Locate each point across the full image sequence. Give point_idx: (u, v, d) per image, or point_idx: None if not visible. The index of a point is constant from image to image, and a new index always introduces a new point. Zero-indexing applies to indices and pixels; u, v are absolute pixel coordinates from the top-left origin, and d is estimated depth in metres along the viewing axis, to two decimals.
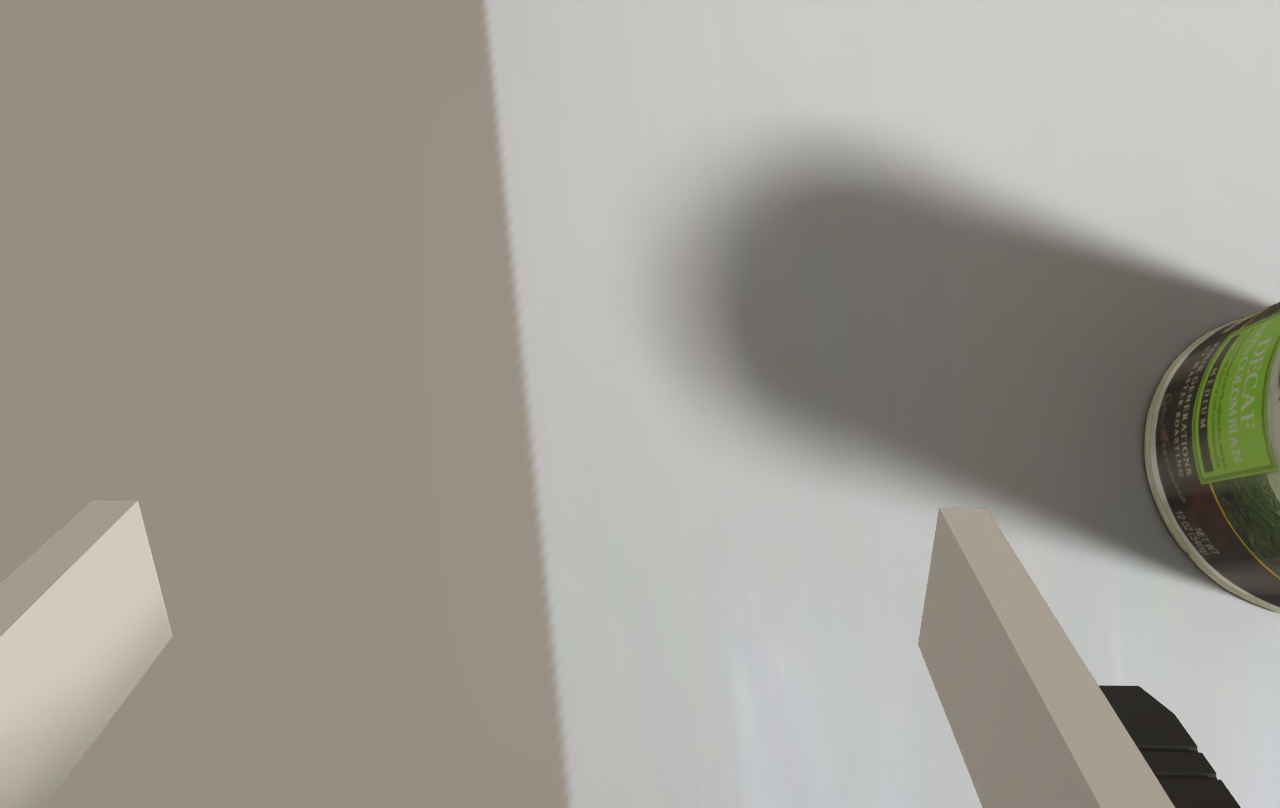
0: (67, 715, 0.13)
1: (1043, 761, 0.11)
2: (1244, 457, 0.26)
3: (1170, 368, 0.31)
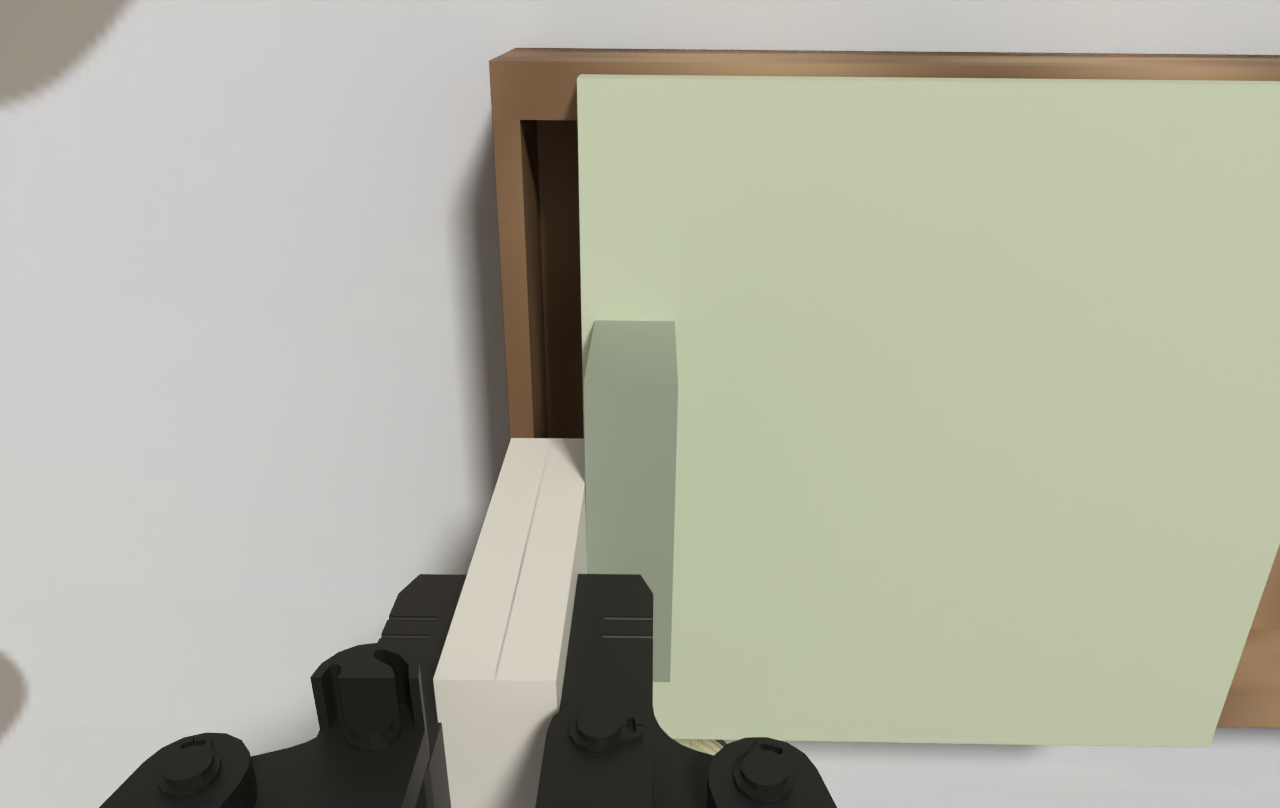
0: None
1: None
2: None
3: None
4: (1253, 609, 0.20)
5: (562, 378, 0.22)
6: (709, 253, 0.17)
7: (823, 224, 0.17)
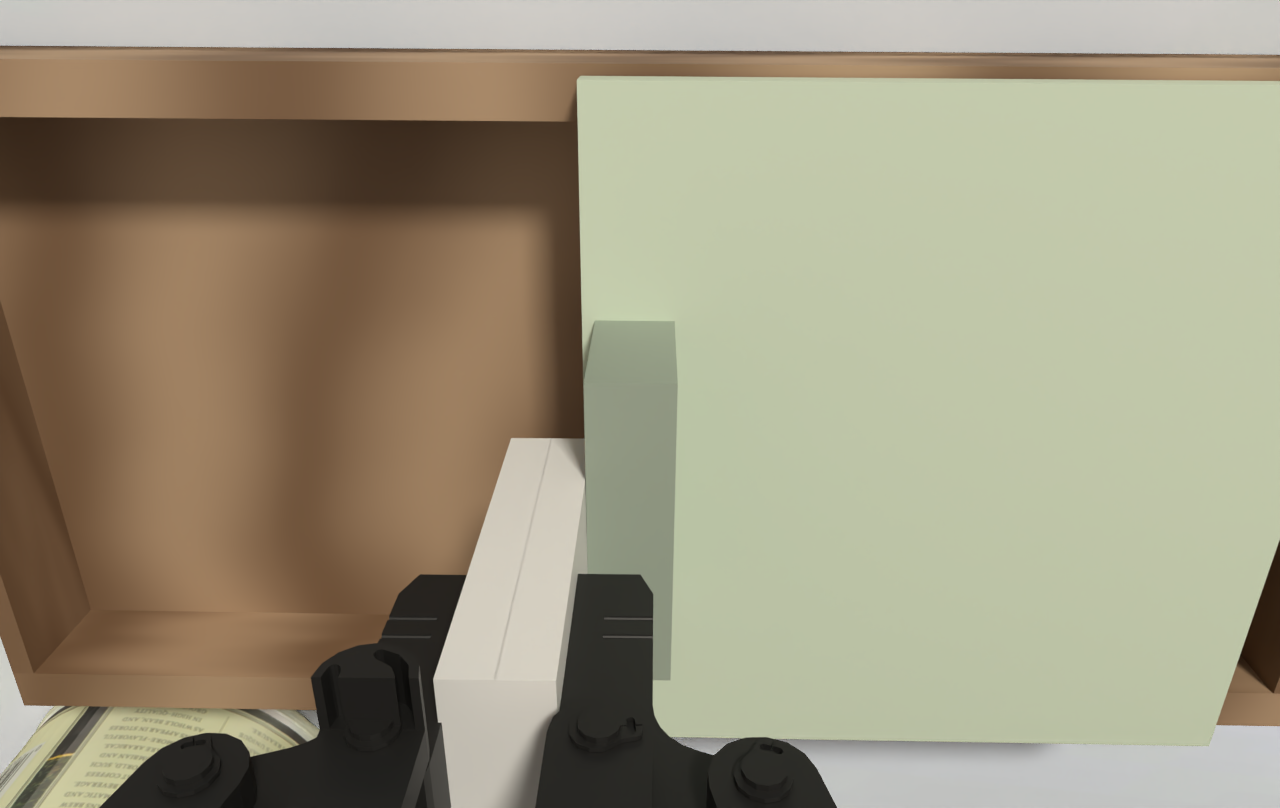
0: None
1: None
2: None
3: None
4: (1252, 608, 0.20)
5: (37, 372, 0.22)
6: (709, 253, 0.17)
7: (822, 224, 0.17)
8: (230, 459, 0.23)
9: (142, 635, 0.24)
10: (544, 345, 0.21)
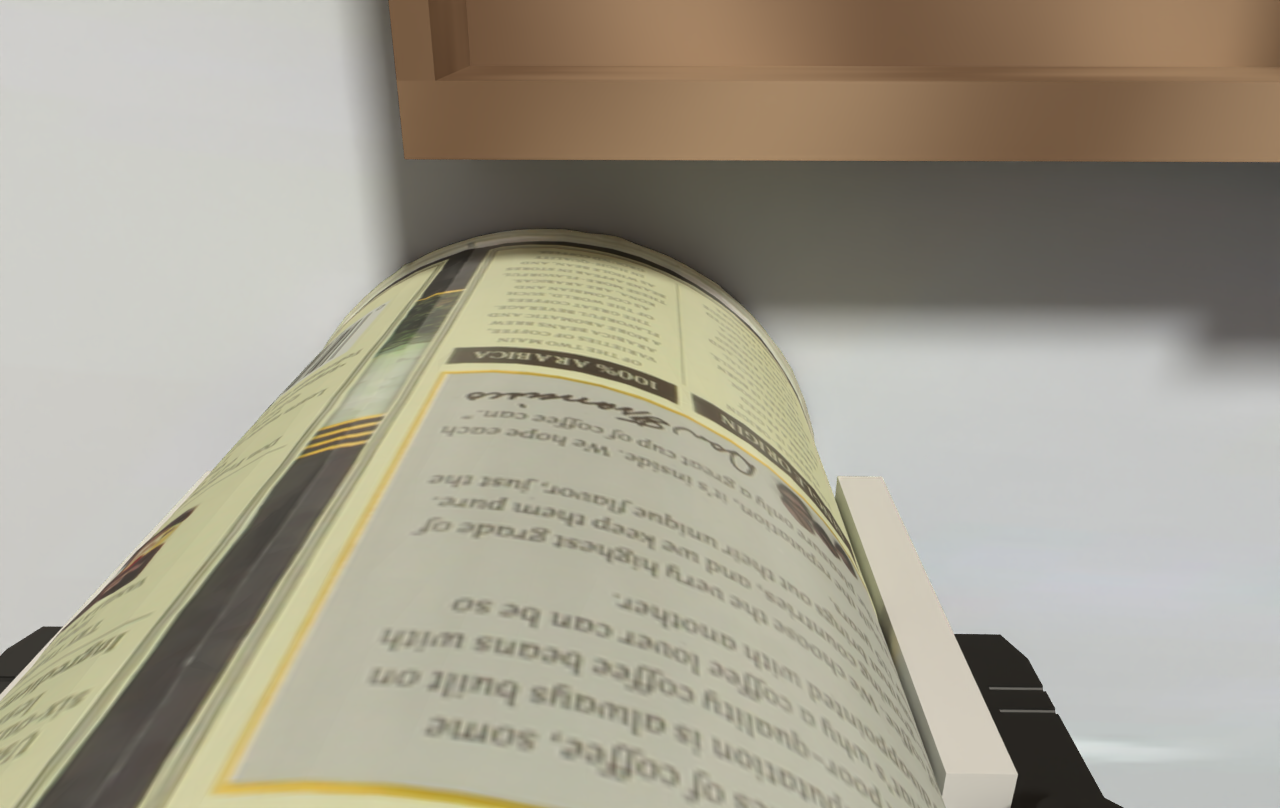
0: None
1: None
2: None
3: None
4: None
5: None
6: None
7: None
8: None
9: (588, 71, 0.13)
10: None
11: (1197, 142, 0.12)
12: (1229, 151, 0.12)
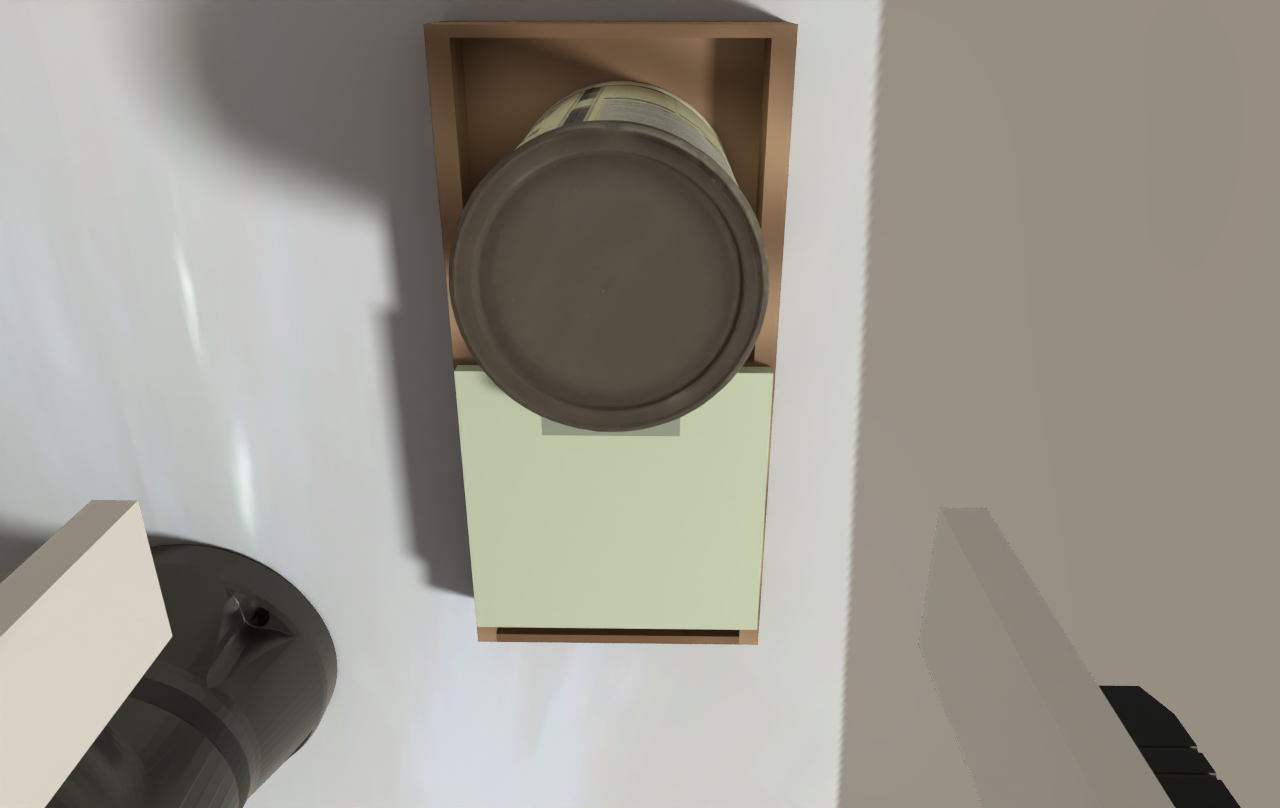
0: (66, 714, 0.13)
1: (1043, 761, 0.11)
2: None
3: None
4: (550, 626, 0.48)
5: (621, 44, 0.40)
6: (706, 419, 0.43)
7: (717, 458, 0.44)
8: None
9: (460, 83, 0.40)
10: None
11: None
12: None
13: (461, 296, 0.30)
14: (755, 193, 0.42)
